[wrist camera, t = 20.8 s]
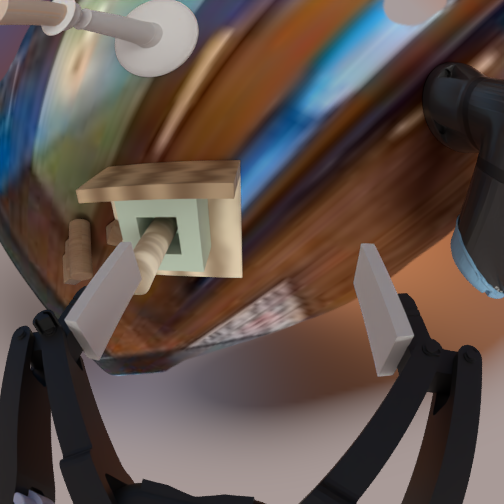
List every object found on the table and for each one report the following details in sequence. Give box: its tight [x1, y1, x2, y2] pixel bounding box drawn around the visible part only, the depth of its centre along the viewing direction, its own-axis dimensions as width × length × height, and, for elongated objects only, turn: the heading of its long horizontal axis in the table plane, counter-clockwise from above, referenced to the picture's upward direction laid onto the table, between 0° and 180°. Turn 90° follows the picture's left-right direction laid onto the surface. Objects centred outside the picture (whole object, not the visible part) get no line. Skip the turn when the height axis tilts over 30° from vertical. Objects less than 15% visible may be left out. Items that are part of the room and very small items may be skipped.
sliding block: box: [114, 199, 211, 272], centre depth 43 cm, size 12×12×7 cm
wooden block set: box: [63, 219, 123, 285], centre depth 47 cm, size 18×9×10 cm
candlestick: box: [0, 0, 199, 77], centre depth 18 cm, size 13×13×30 cm
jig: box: [76, 160, 242, 278], centre depth 43 cm, size 22×21×10 cm
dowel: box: [133, 217, 178, 295], centre depth 38 cm, size 4×4×16 cm
